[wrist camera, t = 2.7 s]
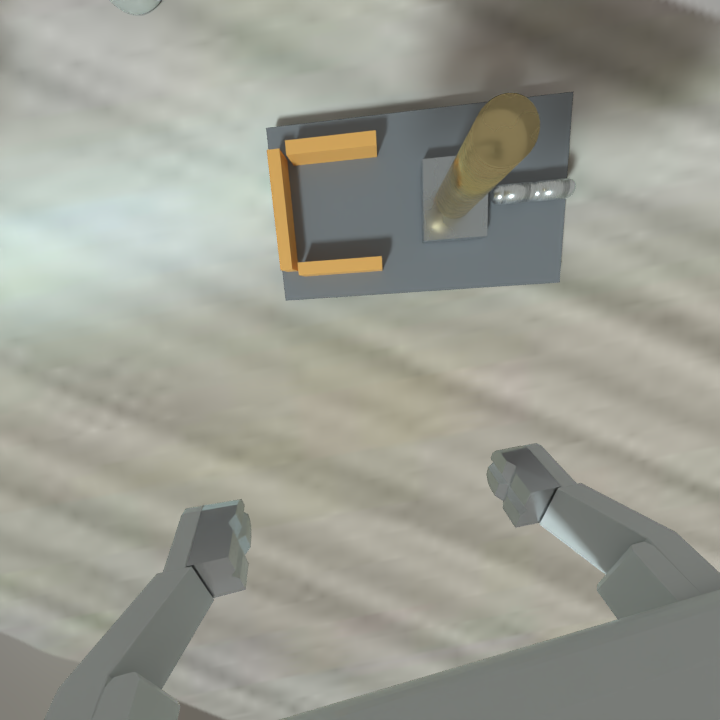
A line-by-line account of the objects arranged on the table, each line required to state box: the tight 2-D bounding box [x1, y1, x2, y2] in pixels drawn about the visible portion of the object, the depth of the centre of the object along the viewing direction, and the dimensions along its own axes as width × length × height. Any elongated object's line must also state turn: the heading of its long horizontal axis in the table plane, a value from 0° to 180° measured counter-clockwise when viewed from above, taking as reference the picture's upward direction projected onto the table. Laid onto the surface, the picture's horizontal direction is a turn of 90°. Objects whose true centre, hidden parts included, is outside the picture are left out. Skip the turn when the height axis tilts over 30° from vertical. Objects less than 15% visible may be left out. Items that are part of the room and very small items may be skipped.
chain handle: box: [421, 93, 576, 243], centre depth 19 cm, size 12×6×11 cm, turn 94°
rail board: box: [266, 92, 573, 300], centre depth 25 cm, size 24×14×4 cm, turn 94°
